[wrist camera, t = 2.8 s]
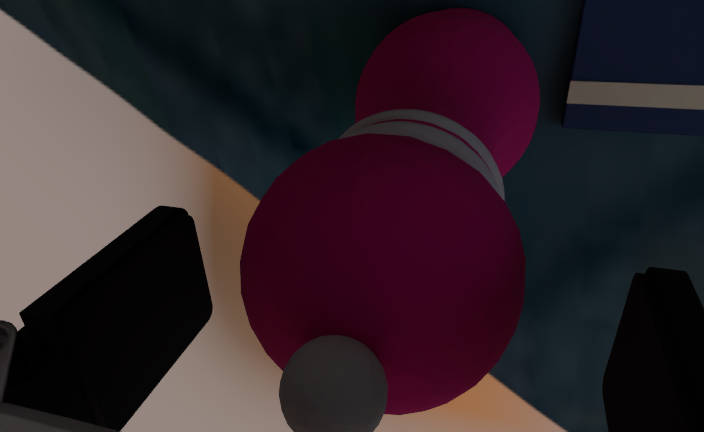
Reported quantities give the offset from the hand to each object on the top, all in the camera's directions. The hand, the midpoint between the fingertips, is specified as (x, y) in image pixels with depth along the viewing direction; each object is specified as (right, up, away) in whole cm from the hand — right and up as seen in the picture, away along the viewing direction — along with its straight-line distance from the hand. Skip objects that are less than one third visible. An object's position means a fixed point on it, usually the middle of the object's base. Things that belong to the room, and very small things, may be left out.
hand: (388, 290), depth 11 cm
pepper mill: (+4, +8, +13) cm, 16 cm away
